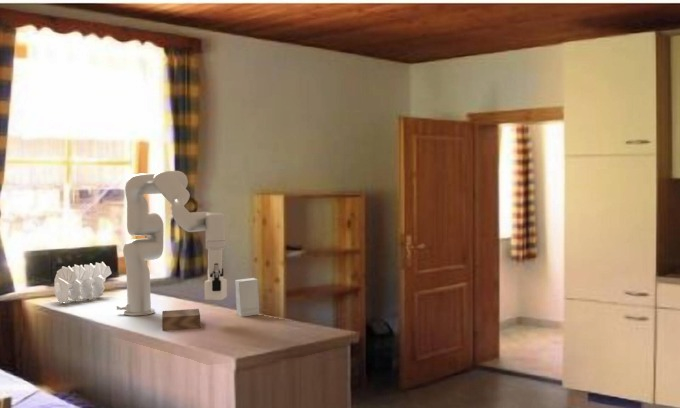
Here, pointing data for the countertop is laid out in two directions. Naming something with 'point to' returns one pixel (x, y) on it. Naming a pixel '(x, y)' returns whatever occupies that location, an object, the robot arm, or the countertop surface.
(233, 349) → the countertop surface
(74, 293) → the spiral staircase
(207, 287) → the medicine bottle
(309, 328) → the countertop surface
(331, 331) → the countertop surface
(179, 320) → the walnut riser
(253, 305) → the skincare box
